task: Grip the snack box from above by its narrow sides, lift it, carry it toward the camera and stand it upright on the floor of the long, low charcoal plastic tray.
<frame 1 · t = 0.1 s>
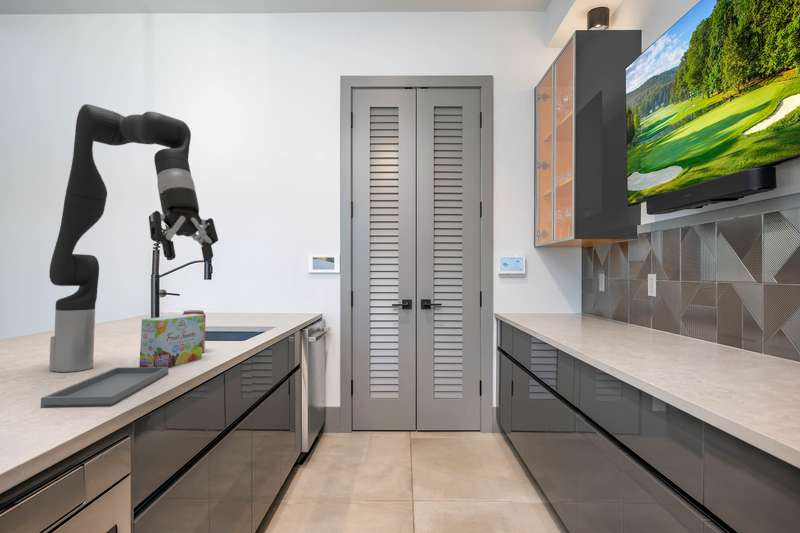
hand: (190, 259, 94), 31 cm above the countertop, tool tilted 20°, fingers open, 8 cm apart
snack box: (173, 365, 133), on the countertop
tray: (113, 388, 105), on the countertop
soda can: (192, 353, 153), on the countertop
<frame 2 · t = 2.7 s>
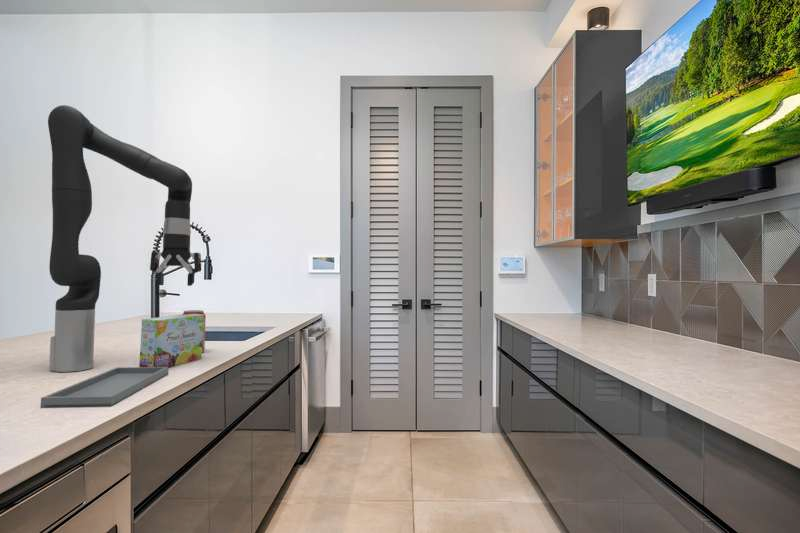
hand: (175, 285, 134), 24 cm above the countertop, tool pointing down, fingers open, 8 cm apart
nothing on the countertop moved.
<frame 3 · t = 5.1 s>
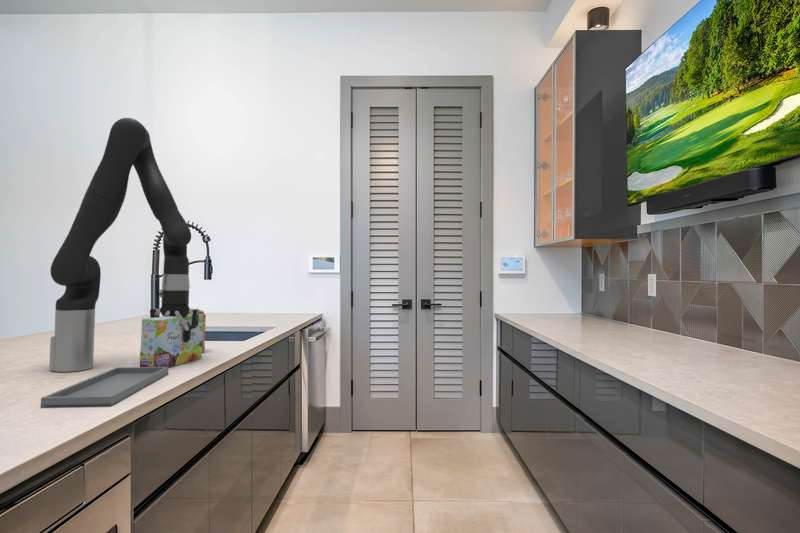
hand: (174, 342, 133), 7 cm above the countertop, tool pointing down, fingers closed on snack box, 6 cm apart
snack box: (173, 364, 133), on the countertop, touching gripper
everything else where it was.
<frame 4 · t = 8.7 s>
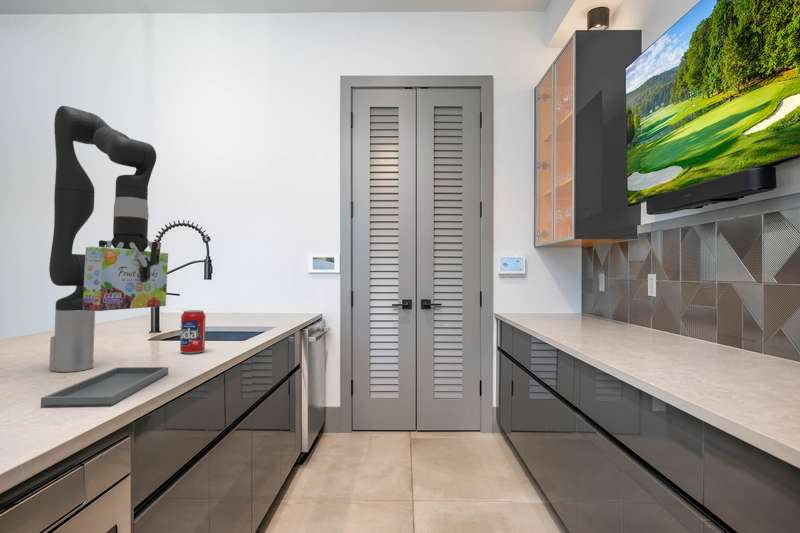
hand: (129, 281, 109), 26 cm above the countertop, tool pointing down, fingers closed on snack box, 6 cm apart
snack box: (128, 309, 109), point 19 cm above the countertop, touching gripper
everything else where it was.
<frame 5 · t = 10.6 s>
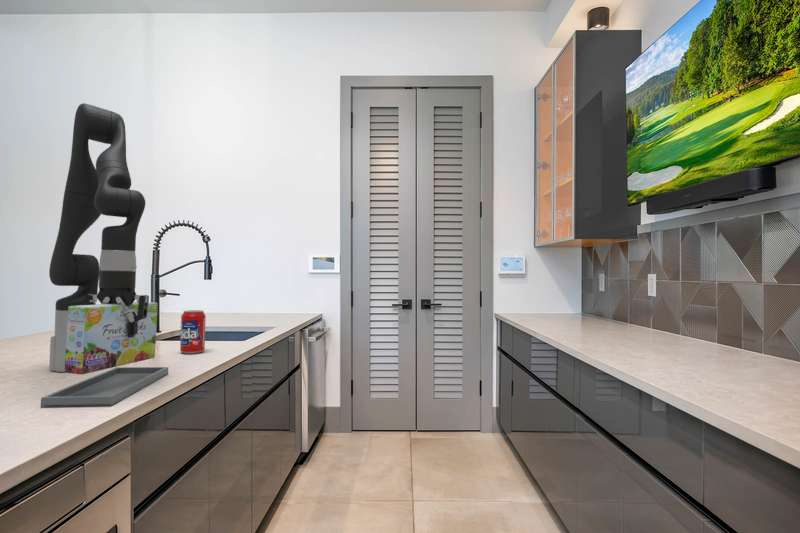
hand: (115, 337, 105), 12 cm above the countertop, tool pointing down, fingers closed on snack box, 6 cm apart
snack box: (114, 366, 105), point 5 cm above the countertop, touching gripper
everything else where it was.
when the fingers open (9 cm above the countertop, at t = 12.3 s): snack box drops 1 cm, resting on tray.
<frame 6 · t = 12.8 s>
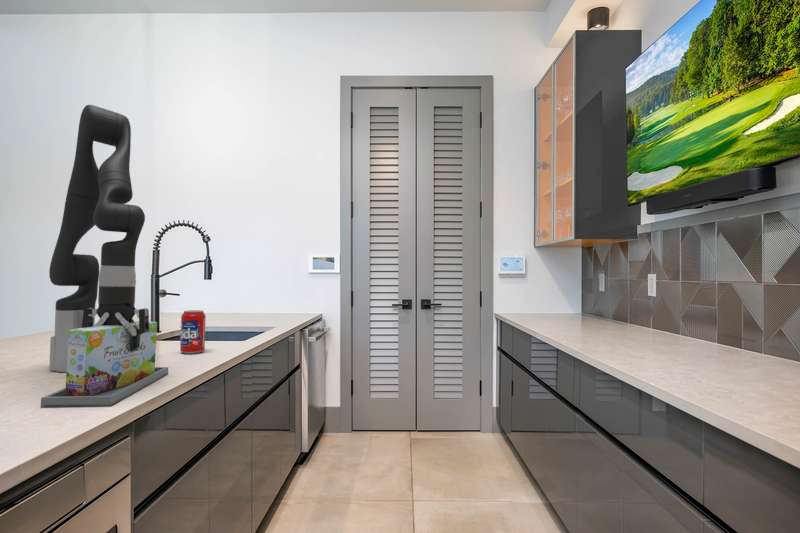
hand: (115, 350, 105), 9 cm above the countertop, tool pointing down, fingers open, 8 cm apart
snack box: (114, 387, 105), resting on tray
everything else where it was.
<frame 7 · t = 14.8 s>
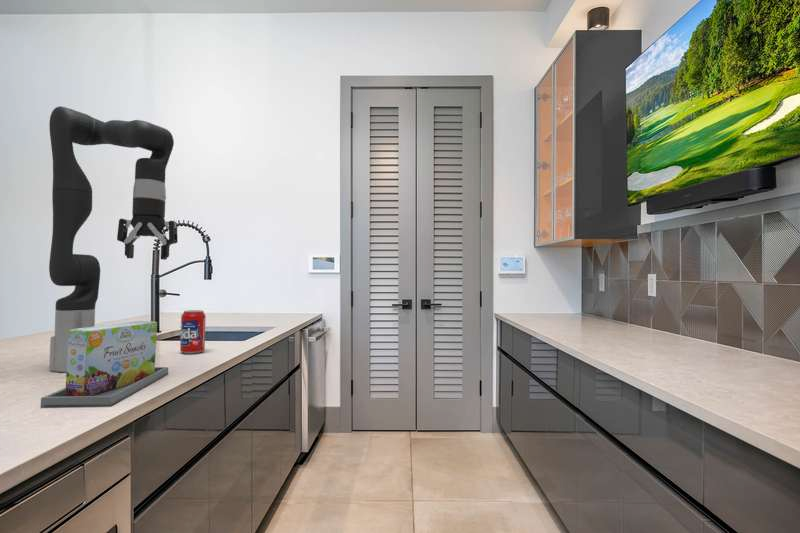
hand: (147, 258, 115), 32 cm above the countertop, tool pointing down, fingers open, 8 cm apart
nothing on the countertop moved.
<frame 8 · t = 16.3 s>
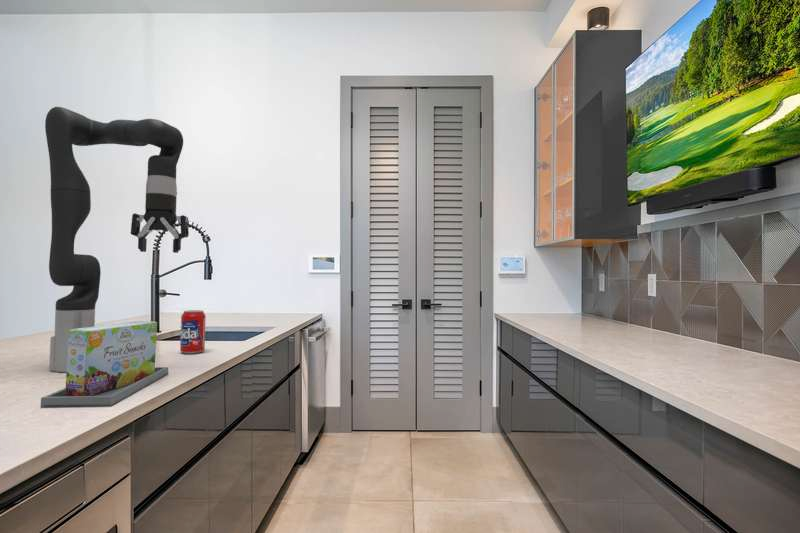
hand: (159, 252, 119), 34 cm above the countertop, tool pointing down, fingers open, 8 cm apart
nothing on the countertop moved.
at the end: snack box inside the target area on the tray (0.1 cm from its centre), point 0.3 cm above the tray's base; snack box tilted 0°; the gripper is holding nothing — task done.
